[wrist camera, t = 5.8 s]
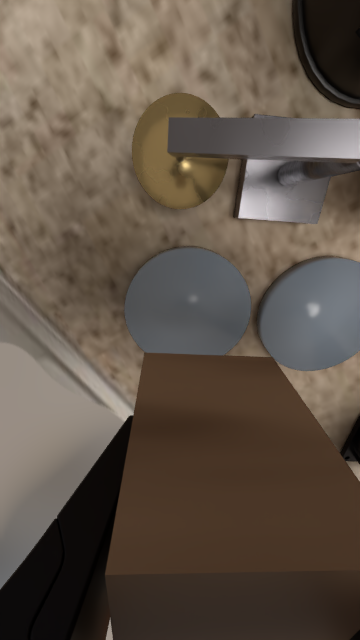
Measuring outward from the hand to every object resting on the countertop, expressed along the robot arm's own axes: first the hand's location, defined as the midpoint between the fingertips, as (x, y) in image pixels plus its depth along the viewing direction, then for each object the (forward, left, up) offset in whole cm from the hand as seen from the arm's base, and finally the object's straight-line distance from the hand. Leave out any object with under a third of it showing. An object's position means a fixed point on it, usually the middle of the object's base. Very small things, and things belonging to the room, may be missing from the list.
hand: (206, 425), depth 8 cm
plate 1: (0, 0, -11) cm, 11 cm away
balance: (+9, -5, -11) cm, 15 cm away
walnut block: (0, 0, -1) cm, 1 cm away
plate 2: (0, -10, -11) cm, 15 cm away
